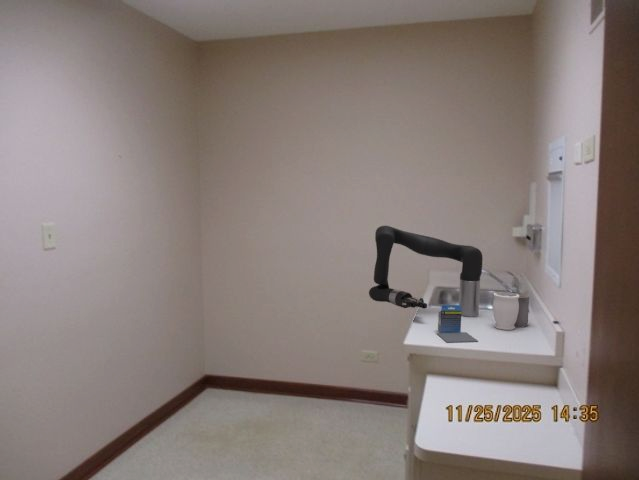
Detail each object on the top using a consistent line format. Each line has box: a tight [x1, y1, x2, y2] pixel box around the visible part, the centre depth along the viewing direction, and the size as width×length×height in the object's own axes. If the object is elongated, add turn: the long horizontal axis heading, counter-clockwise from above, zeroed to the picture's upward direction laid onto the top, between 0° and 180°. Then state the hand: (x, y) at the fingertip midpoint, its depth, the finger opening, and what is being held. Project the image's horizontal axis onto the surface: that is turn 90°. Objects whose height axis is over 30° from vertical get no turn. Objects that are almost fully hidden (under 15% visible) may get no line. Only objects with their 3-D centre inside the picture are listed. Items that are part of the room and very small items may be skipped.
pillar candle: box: [509, 291, 530, 328], centre depth 213 cm, size 10×10×15 cm
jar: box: [492, 291, 519, 331], centre depth 208 cm, size 11×10×15 cm
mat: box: [436, 331, 479, 344], centre depth 194 cm, size 12×13×1 cm
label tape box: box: [437, 304, 462, 333], centre depth 201 cm, size 9×4×12 cm, turn 92°
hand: (425, 306), depth 213 cm, fingers closed
